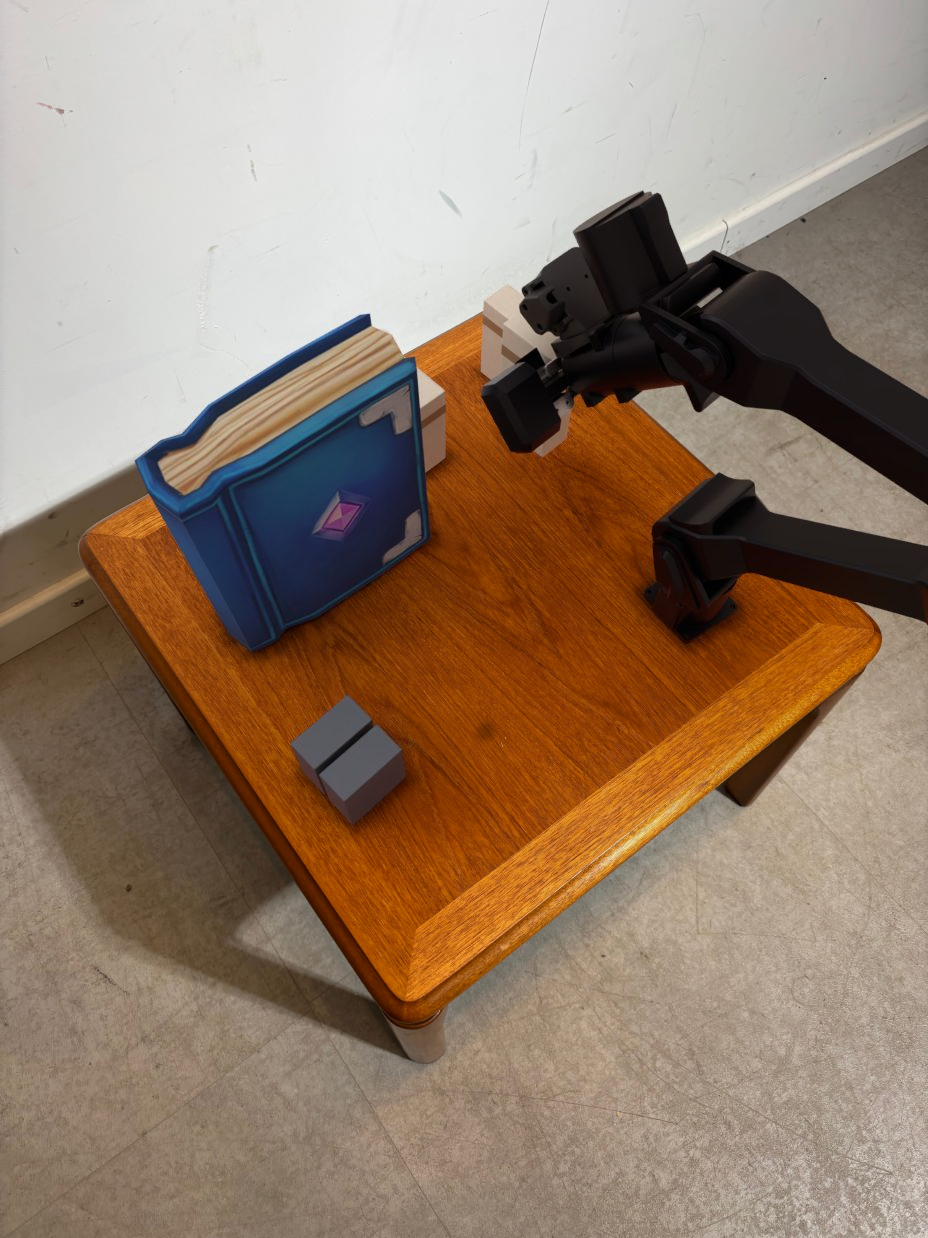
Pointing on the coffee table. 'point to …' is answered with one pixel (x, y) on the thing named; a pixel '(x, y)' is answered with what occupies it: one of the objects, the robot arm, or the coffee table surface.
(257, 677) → the coffee table surface
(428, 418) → the cream lidded boxes
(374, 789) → the grey blocks
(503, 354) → the white lidded box
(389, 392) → the book
